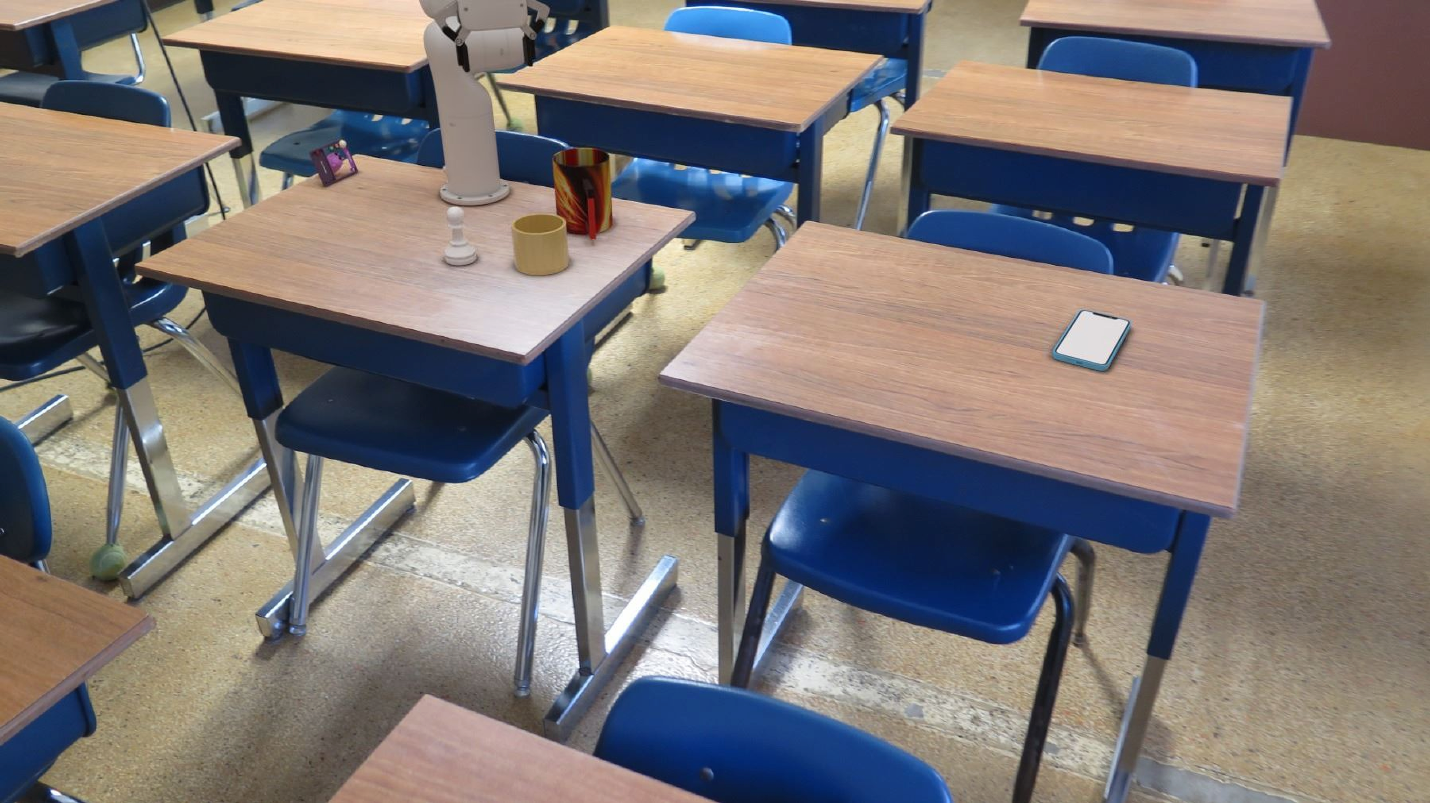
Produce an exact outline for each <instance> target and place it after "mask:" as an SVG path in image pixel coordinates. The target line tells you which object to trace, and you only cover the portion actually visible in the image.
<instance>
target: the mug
mask: <svg viewBox="0 0 1430 803" xmlns="http://www.w3.org/2000/svg"><path fill="white" fill-rule="evenodd" d="M551 158H552V160H551V161H552V172H553V173H552V174H553V185H554V198H555V199H554V201H555V212H556V214H555V215H558V216H560V217H562V218H564V219H565V220H566V226H567V234H571V235H577V236H578V235H580V236H587V235H588V236H589V239H590V241H591V240H597V234H599V233H603V232H605V231H607V230H609V229H611V227H613V224H614V220H613V198H612V178H611V156H610V154H609V152H607V151H605V150H603V149H598V148H592V147H575V148H568V149H564V150H561V151H558V152H557V153H555V154H553V156H552V157H551Z"/></svg>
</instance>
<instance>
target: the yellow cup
mask: <svg viewBox="0 0 1430 803" xmlns="http://www.w3.org/2000/svg"><path fill="white" fill-rule="evenodd" d="M510 229H511V230H510V231H511V241H512V248H513V249H512V251H513V261H514V267H515V270H517V271H518V272H520V273H522V274H525V275H530V276H548V275H553V274H556V273H557V274H558V273H560V272H562V271H564V270H565V269H567V267H568V266H569V264H570V256H569V255H570V254H569V243H568V233H567V226H566V220H565V219H564V218H562V217H560V216H558V215H557V214H555V213H554V214H553V213H545V212H542V213H541V212H539V213H530V214H525V215H521V216H519V217H517V218H515V219H513V220H512V221H511V225H510Z"/></svg>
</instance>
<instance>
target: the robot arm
mask: <svg viewBox="0 0 1430 803" xmlns="http://www.w3.org/2000/svg"><path fill="white" fill-rule="evenodd" d="M418 2H419V5H420V6H421V9H422V11H423V12H424V14H425V15H426V16H427V17H429V18H430V19H432V20H433V21H431V22H430V23H429V24H428V25H427V26H426V27H425V29H424V31H423V38H422V40H423V47H424V51H425V55H426V59H427V62H428V65H429V70H430V72H431V76H432V82H433V86H434V92H435V99H436V104H437V113H438V119H439V120H438V121H439V127H440V134H441V135H440V136H441V142H442V150H443V157H444V158H443V159H444V165H443V166H442V168H441V170H442V172H443V173H444V174H445V175H446V181H447V182H446V183H444V184H443V185H442V186H440V189H439V193H440V197H441V199H442V200H443V201H445V202H447V203H449V204H453V205H458V206H459V205H460V206H481V205H488V204H493V203H495V202H498V201H501V200H503V199H505V198H506V197H507V196H508V195H509V194H510V192H511V191H510V190H511V189H510V184H509V183H508V181H506V180H504V179H502V178H501V176H500V175H501V174H500V165H499V156H498V146H497V135H496V126H495V118H494V108H493V101H492V96H491V94H490V92H489V90H488V89H487V88H486V87H485V86H484V85H483V84H482V83H481V82H480V81H479V80H478V79H477V78H476V77H475V76H476V75H477V74H481V73H488V72H495V71H503V70H511V69H516V68H518V67H521V66H523V65H524V64H525V65H526V66H527V67H531V68H532V67H534V60H536V59H537V54H536V44H535V42H536V41H535V40H536V39H537V36H538V35H539V33H540V32H541V31H542V30H543V28H544V27H545V24H546V21H547V19H548V17H549V14H550V11H551V8H550V6H548V5H547V4H544V3H542V2H540V1H538V0H418ZM528 8H530V9H532V10H535V11H536V12H537V15H536V18H535V19H534V20H533V22H532V23H531V24H530V25H529V24H528V20H529V18H528V17H529V16H528V15H529V14H528Z"/></svg>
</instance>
